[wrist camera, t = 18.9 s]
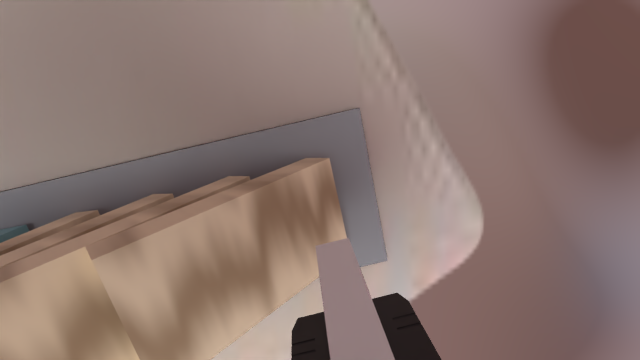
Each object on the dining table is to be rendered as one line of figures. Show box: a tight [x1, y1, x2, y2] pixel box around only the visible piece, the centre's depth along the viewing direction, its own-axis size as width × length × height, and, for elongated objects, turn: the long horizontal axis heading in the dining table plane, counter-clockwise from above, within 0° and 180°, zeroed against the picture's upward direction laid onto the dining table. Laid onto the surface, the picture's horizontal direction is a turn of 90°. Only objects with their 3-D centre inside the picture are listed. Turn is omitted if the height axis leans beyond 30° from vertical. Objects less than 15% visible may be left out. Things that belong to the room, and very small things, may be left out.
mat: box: [0, 108, 387, 267], centre depth 22 cm, size 12×32×1 cm, turn 103°
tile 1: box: [85, 158, 347, 360], centre depth 17 cm, size 7×2×13 cm
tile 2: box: [0, 176, 250, 360], centre depth 17 cm, size 7×2×13 cm
